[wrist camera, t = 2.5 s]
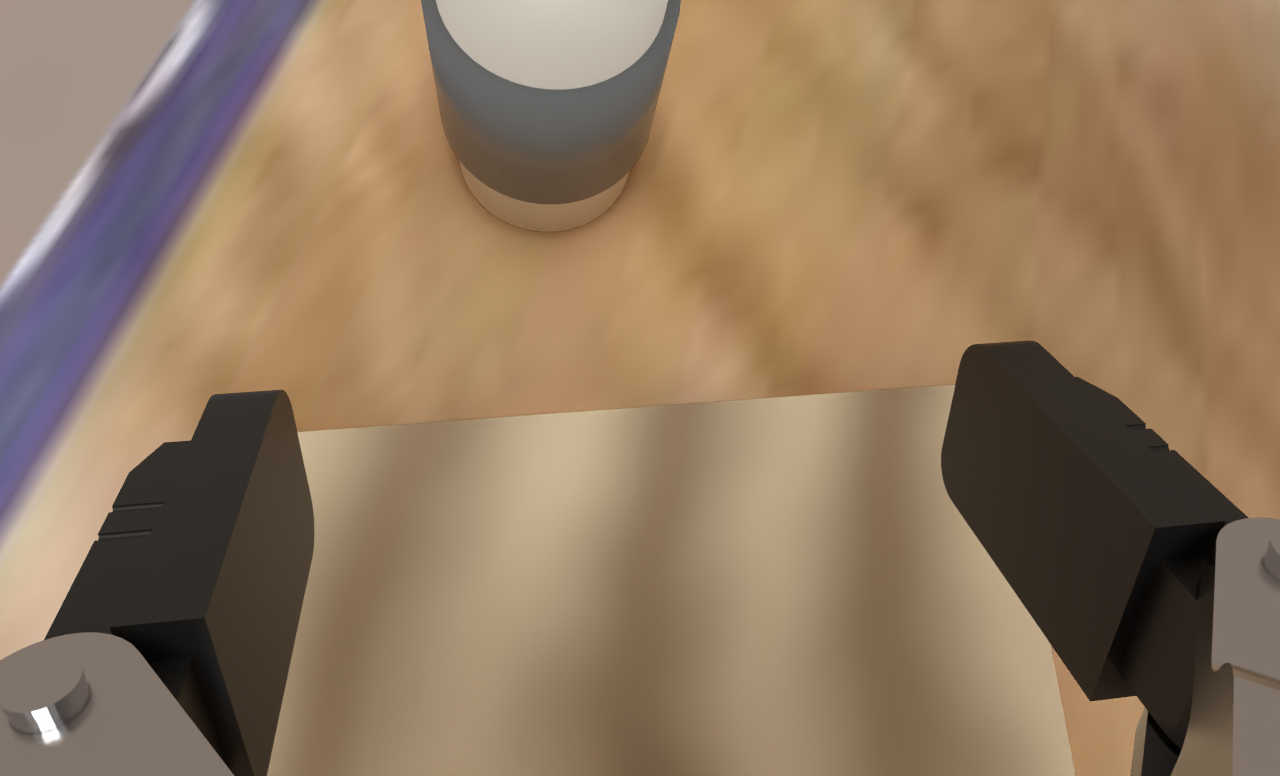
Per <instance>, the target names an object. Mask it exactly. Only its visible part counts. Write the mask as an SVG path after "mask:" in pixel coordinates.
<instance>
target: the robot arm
mask: <svg viewBox="0 0 1280 776" xmlns="http://www.w3.org/2000/svg"><path fill="white" fill-rule="evenodd" d="M941 470H942V477H943V481H944V485H945V488H946V491H947V493H948V495H949V497H950V499H951V501H952V502H953V504H954V505H955V507H956V508H957V509H958V511H959V512H960V514H961V515H962V517H963V518H964V520H965V521H966V522H967V524H968V525H969V527H970V528H971V530H972V531H973V533H974V534H975V535H976V537H977V538H978V540H979V541H980V543H981V544H982V546H983V547H984V548H985V550H986V551H987V553H988V554H989V556H990V557H991V559H992V560H993V561H994V563H995V564H996V566H997V567H998V569H999V570H1000V572H1001V573H1002V574H1003V576H1004V577H1005V579H1006V580H1007V582H1008V583H1009V585H1010V586H1011V587H1012V589H1013V590H1014V592H1015V593H1016V595H1017V596H1018V598H1019V599H1020V600H1021V602H1022V603H1023V605H1024V606H1025V608H1026V609H1027V611H1028V612H1029V613H1030V615H1031V616H1032V618H1033V619H1034V621H1035V622H1036V624H1037V625H1038V626H1039V628H1040V629H1041V631H1042V632H1043V634H1044V635H1045V637H1046V638H1047V639H1048V641H1049V642H1050V644H1051V645H1052V647H1053V648H1054V650H1055V651H1056V653H1057V654H1058V655H1059V657H1060V658H1061V660H1062V661H1063V663H1064V664H1065V666H1066V667H1067V668H1068V670H1069V671H1070V673H1071V674H1072V676H1073V677H1074V679H1075V680H1076V681H1077V683H1078V684H1079V686H1080V687H1081V689H1082V690H1083V692H1084V693H1085V694H1086V696H1087V697H1088V699H1089V700H1090V701H1097V700H1105V699H1113V698H1121V697H1129V696H1137V697H1138V698H1139V700H1140V701H1141V702H1142V704H1143V705H1144V706H1145V709H1144V711H1143V714H1142V716H1141V718H1140V721H1139V723H1138V726H1137V729H1136V734H1135V742H1134V751H1133V759H1132V767H1131V776H1280V520H1278V519H1270V518H1248V517H1247V516H1246V515H1245V514H1244V513H1243V512H1241V511H1240V510H1239V509H1238V508H1237V507H1236V506H1235V505H1234V504H1233V503H1232V502H1231V501H1229V500H1228V499H1227V498H1226V497H1225V496H1224V495H1223V494H1222V493H1221V492H1220V491H1219V490H1217V489H1216V488H1215V487H1214V486H1213V485H1212V484H1211V483H1210V482H1209V481H1208V480H1207V479H1205V478H1204V477H1203V476H1202V475H1201V474H1200V473H1199V472H1198V471H1197V470H1196V469H1195V468H1193V467H1192V466H1191V465H1190V464H1189V463H1188V462H1187V461H1186V460H1185V459H1184V458H1183V457H1181V456H1180V455H1179V454H1178V453H1177V452H1176V451H1175V450H1170V451H1169V448H1168V444H1167V443H1166V442H1165V441H1164V440H1163V439H1162V438H1161V437H1160V436H1159V435H1157V434H1156V433H1155V432H1154V431H1153V430H1152V429H1146V427H1145V423H1144V422H1143V421H1142V420H1141V419H1140V418H1139V417H1138V416H1137V415H1136V414H1135V413H1133V412H1132V411H1131V410H1130V409H1129V408H1128V407H1127V406H1126V405H1125V404H1124V403H1122V402H1121V401H1120V400H1119V399H1118V398H1117V397H1115V396H1113V395H1111V394H1109V393H1107V392H1105V391H1103V390H1101V389H1100V388H1098V387H1096V386H1094V385H1092V384H1090V383H1088V382H1086V381H1084V380H1083V379H1081V378H1079V377H1074V376H1073V375H1072V374H1071V373H1070V372H1069V371H1068V370H1067V369H1065V368H1064V367H1063V366H1062V365H1061V364H1060V363H1059V362H1058V361H1057V360H1056V359H1055V358H1054V357H1053V356H1052V355H1051V354H1050V353H1049V352H1048V351H1046V350H1045V349H1044V348H1043V347H1042V346H1041V345H1040V344H1039V343H1037V342H1035V341H1017V342H1002V343H988V344H975V345H971V346H970V347H968V348H967V350H966V351H965V352H964V354H963V356H962V359H961V362H960V366H959V370H958V375H957V380H956V384H955V389H954V394H953V398H952V403H951V408H950V412H949V417H948V422H947V427H946V431H945V436H944V441H943V445H942V451H941ZM112 507H113V512H111V513H108V515H107V517H106V519H105V521H104V523H103V525H102V527H101V529H100V531H99V533H98V535H99V540H98V541H94V543H93V545H92V547H91V549H90V551H89V553H88V555H87V557H86V559H85V561H84V563H83V565H82V566H81V568H80V570H79V572H78V574H77V576H76V578H75V580H74V582H73V584H72V586H71V588H70V590H69V592H68V594H67V596H66V598H65V600H64V602H63V604H62V606H61V608H60V610H59V612H58V614H57V616H56V618H55V620H54V621H53V623H52V625H51V627H50V629H49V631H48V633H47V635H46V637H45V639H44V641H41V642H38V643H35V644H32V645H30V646H28V647H25V648H23V649H21V650H18V651H17V652H15V653H13V654H11V655H9V656H7V657H6V658H4V659H2V660H0V776H267V773H268V768H269V763H270V758H271V753H272V749H273V744H274V739H275V734H276V729H277V725H278V720H279V715H280V710H281V705H282V701H283V696H284V691H285V686H286V682H287V677H288V672H289V667H290V662H291V658H292V653H293V648H294V643H295V638H296V634H297V629H298V624H299V619H300V614H301V610H302V605H303V600H304V595H305V590H306V586H307V581H308V576H309V571H310V567H311V562H312V557H313V550H314V513H313V505H312V499H311V494H310V489H309V485H308V480H307V475H306V471H305V466H304V461H303V457H302V452H301V447H300V443H299V438H298V433H297V429H296V424H295V419H294V415H293V410H292V406H291V403H290V400H289V397H288V395H287V393H286V392H285V391H284V390H272V391H257V392H243V393H228V394H215V395H212V396H211V397H210V399H209V401H208V403H207V405H206V408H205V410H204V412H203V415H202V417H201V419H200V421H199V424H198V426H197V428H196V431H195V433H194V435H193V437H192V440H191V441H180V442H166V443H163V444H162V445H161V446H160V447H159V448H157V449H156V450H155V451H154V452H153V453H152V454H150V455H149V456H148V457H147V458H146V459H145V460H143V461H142V462H141V463H140V464H139V465H138V466H136V467H135V468H134V469H133V470H132V471H131V472H129V474H128V476H127V478H126V480H125V482H124V484H123V486H122V488H121V490H120V492H119V494H118V496H117V498H116V500H115V502H114V504H113V506H112Z"/></svg>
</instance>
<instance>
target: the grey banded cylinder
mask: <svg viewBox="0 0 1280 776" xmlns="http://www.w3.org/2000/svg"><path fill="white" fill-rule="evenodd" d="M680 2H681V0H421V3H422V9H423V15H424V20H425V26H426V32H427V38H428V44H429V50H430V56H431V61H432V67H433V73H434V79H435V85H436V91H437V97H438V102H439V108H440V114H441V120H442V125H443V128H444V132H445V135H446V138H447V140H448V142H449V144H450V147H451V148H452V150H453V152H454V153H455V155H456V156H457V158H458V159H459V162H460V167H461V171H462V174H463V177H464V179H465V182H466V184H467V186H468V188H469V189H470V191H471V192H472V194H473V195H474V197H475V198H476V199H477V200H478V201H479V203H480V204H481V205H482V206H483V207H484V208H486V209H487V210H488V211H489V212H490V213H492V214H493V215H494V216H496V217H497V218H499V219H501V220H503V221H505V222H506V223H508V224H511V225H513V226H516V227H519V228H522V229H526V230H531V231H538V232H557V231H565V230H569V229H573V228H577V227H579V226H582V225H585V224H587V223H589V222H591V221H592V220H594V219H596V218H597V217H599V216H600V215H602V214H603V213H604V212H605V211H606V210H607V209H609V208H610V207H611V206H612V205H613V203H614V202H615V201H616V200H617V198H618V197H619V195H620V194H621V192H622V190H623V189H624V186H625V184H626V181H627V179H628V175H629V171H630V170H631V169H632V167H633V166H634V165H635V164H636V163H637V161H638V159H639V158H640V156H641V154H642V153H643V150H644V148H645V146H646V143H647V141H648V137H649V133H650V129H651V125H652V121H653V117H654V113H655V109H656V105H657V101H658V97H659V93H660V89H661V85H662V81H663V77H664V73H665V69H666V65H667V61H668V57H669V53H670V49H671V45H672V41H673V37H674V33H675V29H676V25H677V21H678V17H679V12H680Z"/></svg>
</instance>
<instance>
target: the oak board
mask: <svg viewBox="0 0 1280 776" xmlns="http://www.w3.org/2000/svg"><path fill="white" fill-rule="evenodd" d="M954 389H955V384H954V385H940V386H926V387H912V388H898V389H885V390H871V391H857V392H843V393H830V394H816V395H802V396H788V397H774V398H761V399H747V400H733V401H719V402H706V403H692V404H678V405H664V406H650V407H637V408H623V409H609V410H595V411H582V412H568V413H554V414H540V415H526V416H513V417H499V418H485V419H471V420H458V421H444V422H430V423H416V424H403V425H389V426H375V427H361V428H347V429H334V430H320V431H306V432H297V433H298V438H299V443H300V447H301V452H302V457H303V461H304V466H305V471H306V475H307V480H308V485H309V489H310V494H311V499H312V505H313V513H314V550H313V557H312V562H311V567H310V571H309V576H308V581H307V586H306V590H305V595H304V600H303V605H302V610H301V614H300V619H299V624H298V629H297V634H296V638H295V643H294V648H293V653H292V658H291V662H290V667H289V672H288V677H287V682H286V686H285V691H284V696H283V701H282V705H281V710H280V715H279V720H278V725H277V729H276V734H275V739H274V744H273V749H272V753H271V758H270V763H269V768H268V773H267V776H1076V775H1075V769H1074V764H1073V759H1072V754H1071V748H1070V743H1069V738H1068V733H1067V727H1066V722H1065V717H1064V712H1063V707H1062V701H1061V696H1060V691H1059V686H1058V680H1057V675H1056V670H1055V665H1054V659H1053V654H1052V649H1051V644H1050V642H1049V641H1048V639H1047V638H1046V637H1045V635H1044V634H1043V632H1042V631H1041V629H1040V628H1039V626H1038V625H1037V624H1036V622H1035V621H1034V619H1033V618H1032V616H1031V615H1030V613H1029V612H1028V611H1027V609H1026V608H1025V606H1024V605H1023V603H1022V602H1021V600H1020V599H1019V598H1018V596H1017V595H1016V593H1015V592H1014V590H1013V589H1012V587H1011V586H1010V585H1009V583H1008V582H1007V580H1006V579H1005V577H1004V576H1003V574H1002V573H1001V572H1000V570H999V569H998V567H997V566H996V564H995V563H994V561H993V560H992V559H991V557H990V556H989V554H988V553H987V551H986V550H985V548H984V547H983V546H982V544H981V543H980V541H979V540H978V538H977V537H976V535H975V534H974V533H973V531H972V530H971V528H970V527H969V525H968V524H967V522H966V521H965V520H964V518H963V517H962V515H961V514H960V512H959V511H958V509H957V508H956V507H955V505H954V504H953V502H952V501H951V499H950V497H949V495H948V493H947V491H946V488H945V485H944V481H943V477H942V470H941V451H942V445H943V441H944V436H945V431H946V427H947V422H948V417H949V412H950V408H951V403H952V398H953V394H954Z"/></svg>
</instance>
